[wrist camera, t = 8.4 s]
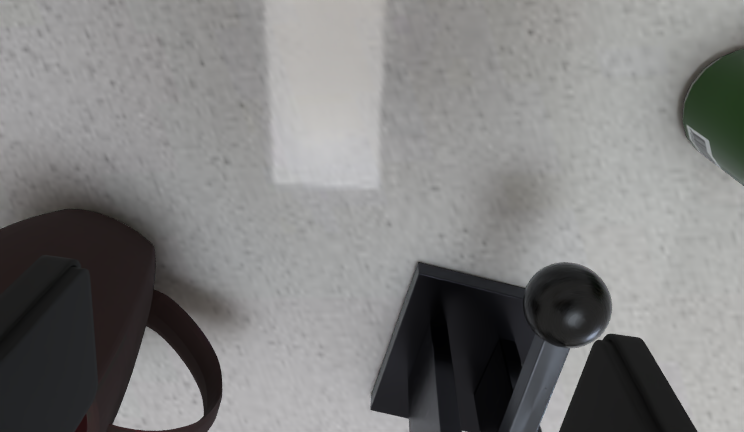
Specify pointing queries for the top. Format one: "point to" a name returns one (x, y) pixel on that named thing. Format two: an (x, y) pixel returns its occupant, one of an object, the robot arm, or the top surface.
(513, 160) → the top surface
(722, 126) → the beer can
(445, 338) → the switch bracket
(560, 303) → the switch lever
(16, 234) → the cup
